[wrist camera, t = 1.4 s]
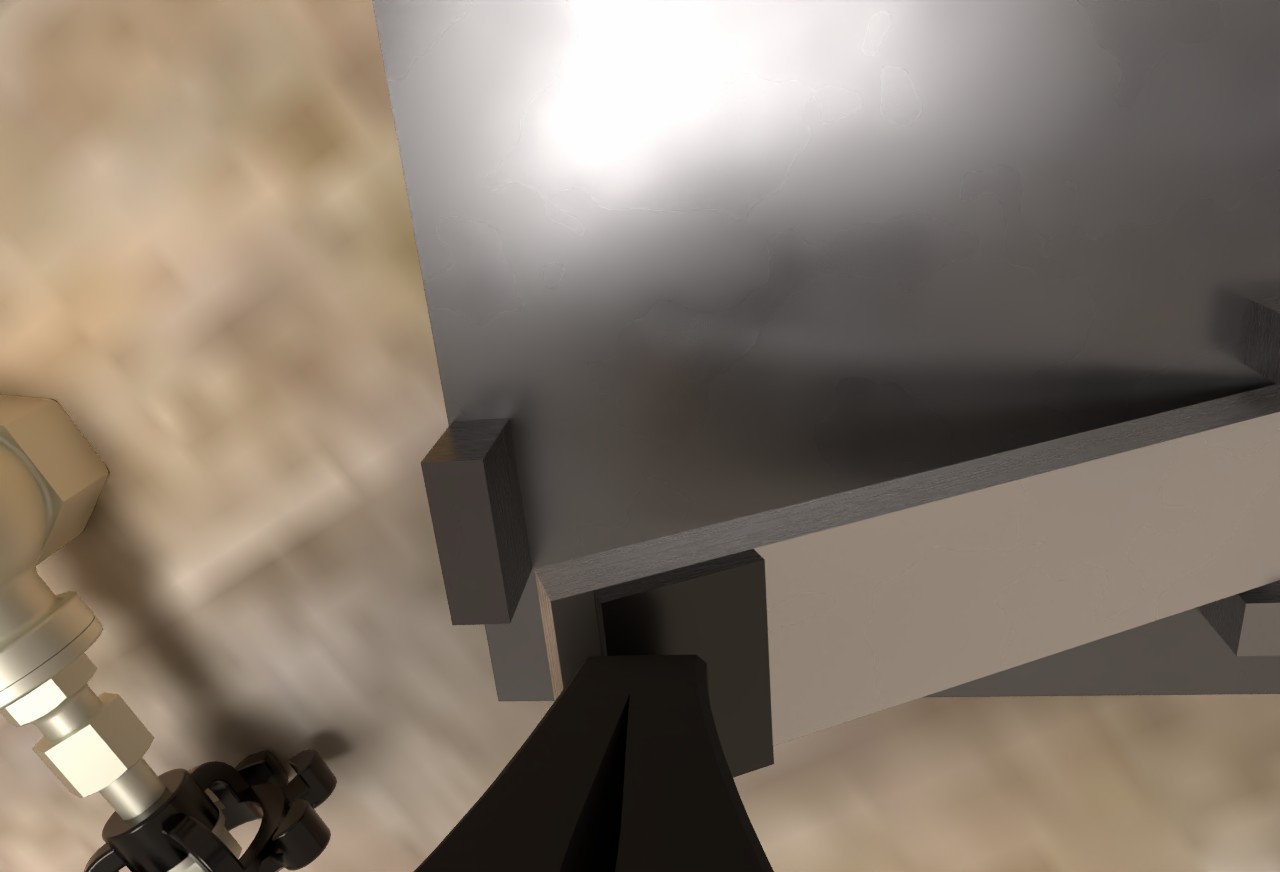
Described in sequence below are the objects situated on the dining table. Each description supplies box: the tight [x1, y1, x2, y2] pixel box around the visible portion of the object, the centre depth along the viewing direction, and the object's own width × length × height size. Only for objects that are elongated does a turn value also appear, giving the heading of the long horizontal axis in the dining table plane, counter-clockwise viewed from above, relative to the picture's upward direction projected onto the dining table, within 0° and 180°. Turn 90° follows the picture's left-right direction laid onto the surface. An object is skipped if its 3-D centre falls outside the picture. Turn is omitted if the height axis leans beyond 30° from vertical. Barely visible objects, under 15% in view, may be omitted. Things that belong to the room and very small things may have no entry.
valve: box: [0, 394, 337, 872], centre depth 19 cm, size 7×7×12 cm
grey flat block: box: [372, 0, 1280, 701], centre depth 14 cm, size 15×23×5 cm, turn 5°
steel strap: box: [534, 384, 1280, 777], centre depth 13 cm, size 12×3×1 cm, turn 96°
